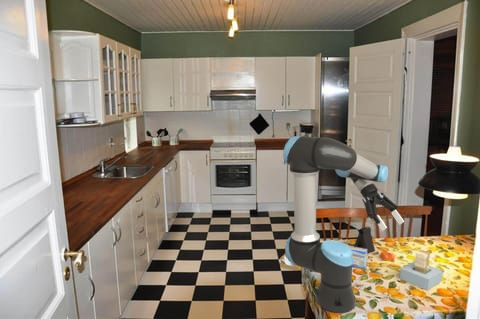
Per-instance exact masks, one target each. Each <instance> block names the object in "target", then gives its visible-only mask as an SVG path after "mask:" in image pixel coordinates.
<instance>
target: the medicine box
mask: <svg viewBox="0 0 480 319" xmlns="http://www.w3.org/2000/svg"><path fill="white" fill-rule="evenodd" d="M349 248H350V249H351V250H352V257H353V264H352V268H357V269H361V270H366V268H367V266H368V254H367V251H368V249H364V248H358V247H354V245H353V246H351V245H350V246H349Z"/></svg>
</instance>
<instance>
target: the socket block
mask: <svg viewBox="0 0 480 319" xmlns="http://www.w3.org/2000/svg"><path fill="white" fill-rule="evenodd" d="M443 272H444V271H443V269H442V270H441V269H439V268H437V267H434V266H431V265H429V272H428V273H426V274H423V273H420V272H418V271H415V260H413V261H412V262H410V263H408V264H406V265H405V266H403V267H401V268H400V273H399V275H400V276H399V279H400V280H401V281H404V282H406V283H408V284H411V285H413V286H416V287H417V288H420V289H423V290H426V291H430V290H431V289H433V288H434V287H436V286H437V285H439V284H440V283H442V282H443Z"/></svg>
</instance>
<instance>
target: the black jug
mask: <svg viewBox="0 0 480 319" xmlns="http://www.w3.org/2000/svg"><path fill="white" fill-rule="evenodd" d="M371 232H372V228H371V227H370V226H365V227H361V228H359V229H358V234H357V238H356V240H355V242H354V245H353V247H358V248H364V249H368V251H367V255H369V254H371V253H373V252H375V251H376V249H375V244H374V241H373V236H372V233H371Z"/></svg>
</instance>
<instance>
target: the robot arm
mask: <svg viewBox="0 0 480 319" xmlns="http://www.w3.org/2000/svg"><path fill="white" fill-rule="evenodd" d="M282 158H283V161H284V163H285V164H286V165H287V166H289V172H290V173H291V174H292V175H293V205H294V206H293V210H294V212H293V213H294V216H293V218H294V219H293V220H294V231H293V232H292V233H290V236H289V237H288V238H287V240H286V244H285V248H284V250H285V251H284V252H285V256H286V259H287V261H288V262H290V263H291V264H293V265H295V266H296V267H299V268H300V267H301V268H304V269H306V270H309V271H313V272H314V273H319V274H320V282H319V285H318V288H317V290H316V293H315V301H316V304H317V305H318V306H319V307H320V308H322V309H324V310H326V311H328V312H332V313H336V314H337V313H342V314H344V313H349V312H351V311H353V310H354V309H355V308H356V304H357V302H356V300H357V298H356V295H355V292H354V289H353V286H352V285H353V284H352V283H353V281H352V280H353V267H352V264H353V257H352V250H351V249H350V246H348V245H347V244H346V243H343V242H341V241H339V240H331V239H330V240H329V239H328V240H324V241H323V242H321V238H320V237H321V236H320V233H318V231H317V175H318V173H320V169H322V170H323V169H324V170H334V171H335V173H336V175H338V176H339V177H341V178H348V179H350V180H351V181H352V182H353V184H354V185H355V186H356V188H357V190H358V191H359V192H360V193H359V194H361V196H362V197H363V198H362V199H361V200H362V202H363V205H364V208H365V211H366V215H367V218H370V220H372V219H373V221H375V224H377V226H378V227H379V229H380V230H381V232H382V231H385V230H386V229H388V226H386V224H385V222H384V221H383V220H382V218H381V217H380V215H379V214H377V205H378V206H382V207H384V208H385V209H387V210H389V212H390V214H391V215H392V216H393V218H394V219H395V221H396V222H397V223H398V225H402V224H403V223H405V221H404V218H402V216H401V214H400V213H399V212H398V207H399V206H398V205H397V204H395V203H394V202H393V201H392V200H390V198H388V197H387V196H386V195H385V194H384V192H380V193H379V192H378V191H379V190H378V188H377V186H376V185H375V184H374V183H373V182H377V183H386V181H387V179H388V177H389V168H388V166H387V165H384V164H376V163H374V162H373V161H371V160H368V159H367V158H366V157H363V156H361V155H359V154H358V153H357V152H356V151H355V149H354V148H353V147H351V146H350V145H347V144H345V143H343V142H341V141H339V140H336V139H334V138H330V137H320V136H310V135H309V136H308V135H296V136H295V135H294V136H292V137H291V138H289V139H288V141H286V143H285V145H284V148H283V153H282ZM352 309H353V310H352ZM350 310H351V311H350Z"/></svg>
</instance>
